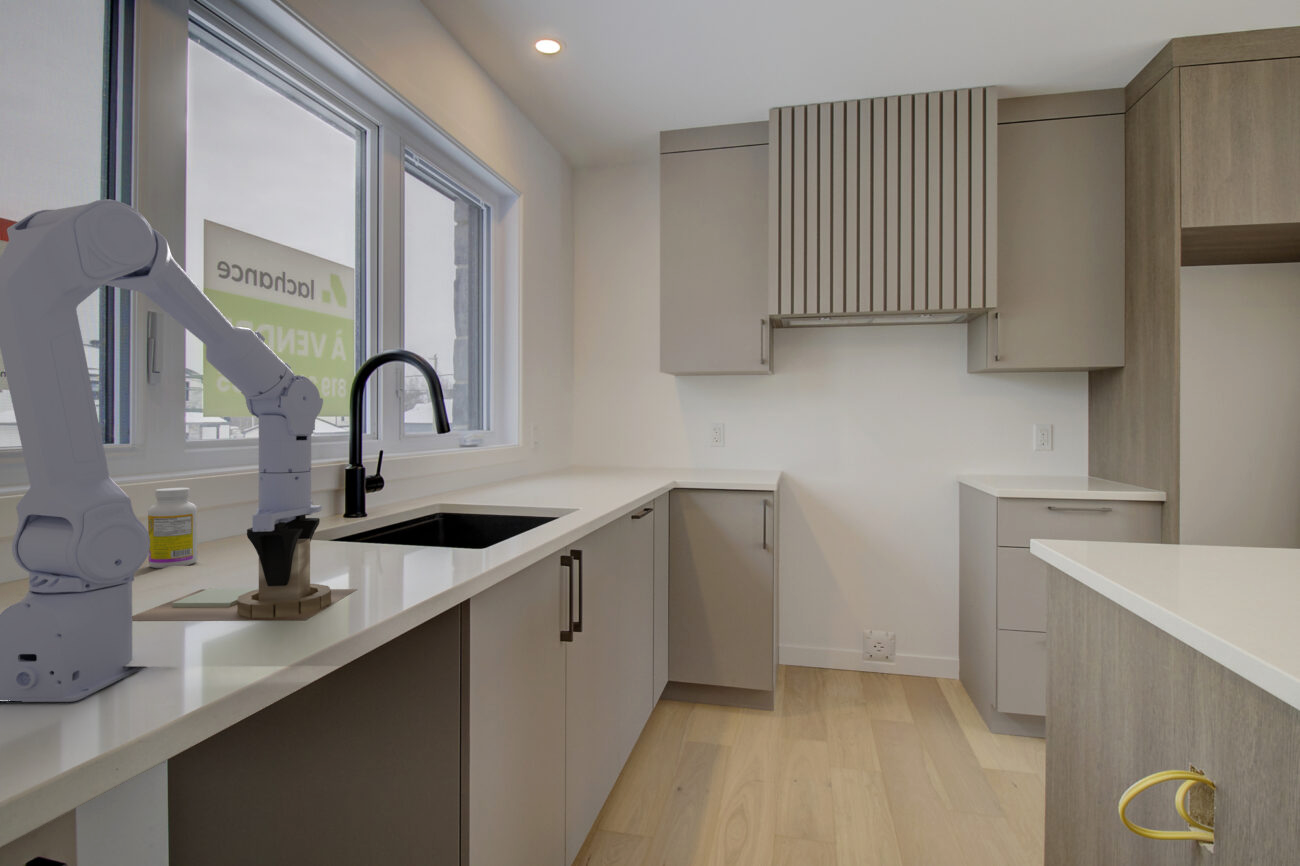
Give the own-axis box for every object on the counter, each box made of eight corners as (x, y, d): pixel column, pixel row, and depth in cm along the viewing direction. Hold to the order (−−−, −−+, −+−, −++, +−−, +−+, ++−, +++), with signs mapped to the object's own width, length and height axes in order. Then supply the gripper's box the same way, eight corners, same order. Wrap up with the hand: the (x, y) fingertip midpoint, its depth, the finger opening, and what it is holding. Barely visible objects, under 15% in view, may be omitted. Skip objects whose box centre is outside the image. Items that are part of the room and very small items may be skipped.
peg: (298, 602, 78) (298, 544, 78) (257, 603, 77) (257, 546, 77) (310, 592, 83) (310, 538, 82) (271, 594, 82) (271, 539, 82)
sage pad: (229, 606, 79) (229, 602, 79) (172, 606, 79) (172, 602, 79) (262, 592, 86) (262, 588, 86) (209, 592, 86) (209, 588, 86)
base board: (305, 630, 74) (305, 607, 74) (120, 631, 74) (120, 607, 74) (357, 597, 88) (357, 578, 88) (201, 598, 88) (201, 578, 88)
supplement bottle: (162, 561, 111) (162, 487, 111) (205, 560, 112) (204, 486, 112) (139, 570, 104) (138, 491, 104) (184, 568, 105) (184, 490, 105)
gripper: (300, 475, 73) (300, 593, 74) (336, 467, 88) (336, 566, 88) (232, 476, 72) (232, 596, 72) (280, 468, 86) (280, 568, 86)
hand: (285, 580), depth 80 cm, fingers closed on peg, 4 cm apart
